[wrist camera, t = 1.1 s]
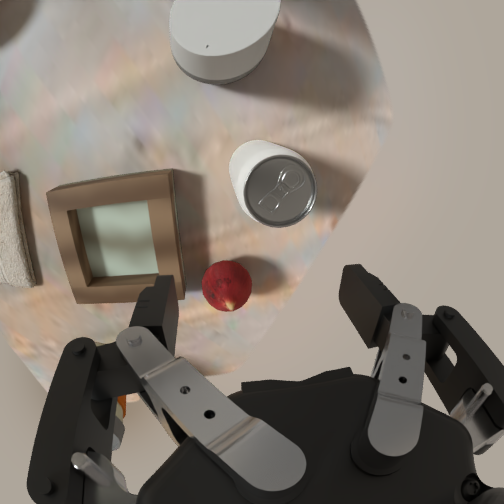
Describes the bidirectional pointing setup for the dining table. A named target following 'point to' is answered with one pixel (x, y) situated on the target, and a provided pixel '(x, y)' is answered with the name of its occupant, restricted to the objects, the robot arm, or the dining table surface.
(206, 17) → the smart speaker
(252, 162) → the can
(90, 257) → the holder
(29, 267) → the washcloth
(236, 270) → the onion
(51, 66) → the dining table surface
